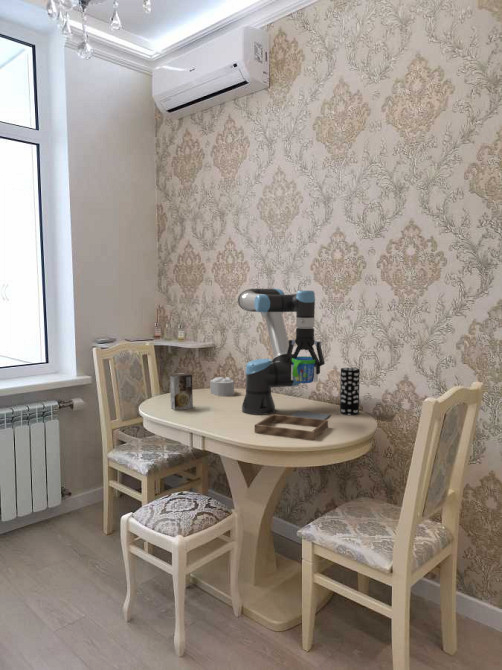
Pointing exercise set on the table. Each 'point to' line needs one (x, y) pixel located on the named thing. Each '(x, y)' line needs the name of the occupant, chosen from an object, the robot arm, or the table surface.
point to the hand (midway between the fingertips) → (304, 380)
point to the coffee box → (181, 391)
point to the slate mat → (311, 415)
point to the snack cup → (303, 369)
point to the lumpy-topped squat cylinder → (222, 386)
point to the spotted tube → (349, 391)
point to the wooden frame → (287, 432)
